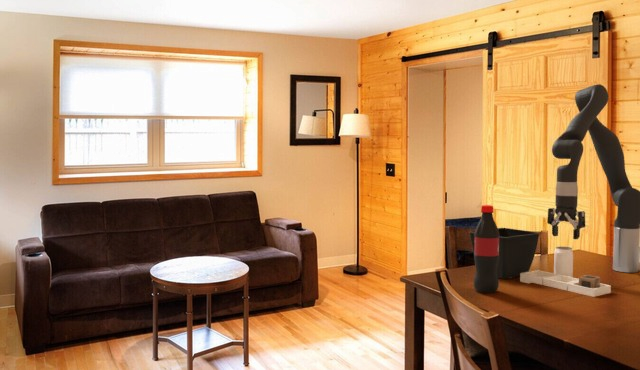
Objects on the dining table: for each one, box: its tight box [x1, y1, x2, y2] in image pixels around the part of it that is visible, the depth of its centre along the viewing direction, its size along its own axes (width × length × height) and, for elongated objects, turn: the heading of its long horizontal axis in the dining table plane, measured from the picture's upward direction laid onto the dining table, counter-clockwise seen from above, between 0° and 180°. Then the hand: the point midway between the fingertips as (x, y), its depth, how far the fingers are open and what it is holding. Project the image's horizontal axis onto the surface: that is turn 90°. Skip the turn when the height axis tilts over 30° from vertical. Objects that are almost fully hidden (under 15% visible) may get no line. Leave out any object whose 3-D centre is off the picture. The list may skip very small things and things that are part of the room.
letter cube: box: [578, 274, 601, 289], centre depth 208 cm, size 5×5×5 cm
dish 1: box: [519, 269, 559, 286], centre depth 225 cm, size 10×10×3 cm
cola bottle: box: [473, 204, 500, 294], centre depth 212 cm, size 8×8×30 cm
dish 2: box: [542, 275, 579, 291], centre depth 217 cm, size 10×10×3 cm
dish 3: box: [567, 282, 612, 297], centre depth 208 cm, size 10×10×3 cm
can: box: [553, 246, 574, 278], centre depth 229 cm, size 6×6×12 cm
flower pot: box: [469, 227, 540, 280], centre depth 238 cm, size 19×19×17 cm
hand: (565, 237), depth 228 cm, fingers open, 8 cm apart
